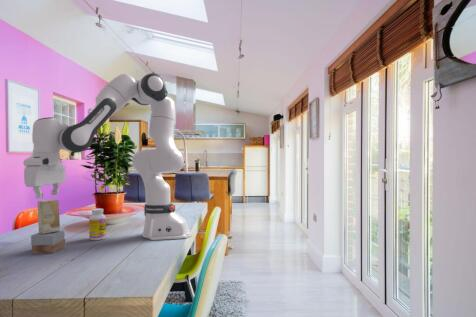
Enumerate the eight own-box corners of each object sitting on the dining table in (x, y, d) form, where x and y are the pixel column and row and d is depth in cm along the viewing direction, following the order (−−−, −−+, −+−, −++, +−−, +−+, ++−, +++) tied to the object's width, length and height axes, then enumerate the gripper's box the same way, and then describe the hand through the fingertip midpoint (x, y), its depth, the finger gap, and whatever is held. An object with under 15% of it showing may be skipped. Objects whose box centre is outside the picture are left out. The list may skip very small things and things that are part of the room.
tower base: (65, 248, 126) (65, 239, 126) (53, 254, 118) (53, 244, 118) (44, 248, 126) (44, 239, 126) (32, 254, 118) (31, 245, 118)
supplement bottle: (99, 241, 135) (99, 210, 135) (85, 240, 137) (85, 210, 137) (109, 237, 142) (108, 208, 142) (95, 236, 143) (95, 207, 143)
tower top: (64, 239, 126) (64, 230, 126) (52, 244, 118) (52, 235, 118) (44, 239, 126) (44, 230, 126) (31, 245, 118) (31, 235, 118)
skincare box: (43, 234, 119) (40, 201, 119) (38, 233, 122) (36, 201, 122) (61, 230, 124) (59, 199, 124) (56, 229, 127) (54, 198, 127)
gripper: (54, 159, 132) (55, 193, 132) (19, 160, 111) (20, 200, 112) (69, 159, 132) (70, 193, 132) (37, 160, 111) (38, 200, 111)
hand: (47, 196), depth 122 cm, fingers open, 8 cm apart
